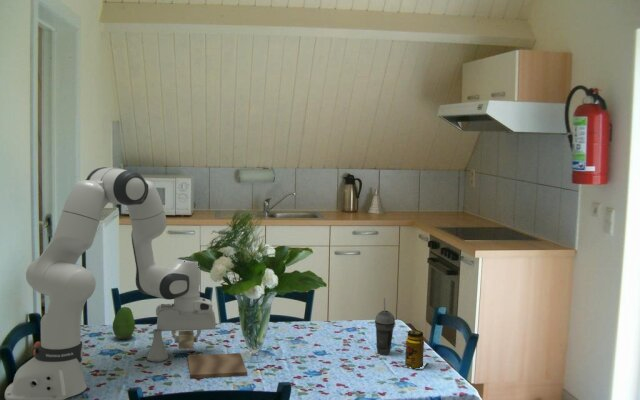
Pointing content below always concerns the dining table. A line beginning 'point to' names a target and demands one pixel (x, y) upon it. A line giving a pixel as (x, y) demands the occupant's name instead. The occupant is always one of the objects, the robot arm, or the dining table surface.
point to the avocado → (124, 323)
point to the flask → (157, 347)
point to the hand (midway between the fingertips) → (186, 342)
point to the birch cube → (186, 340)
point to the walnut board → (216, 365)
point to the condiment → (414, 349)
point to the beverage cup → (384, 331)
